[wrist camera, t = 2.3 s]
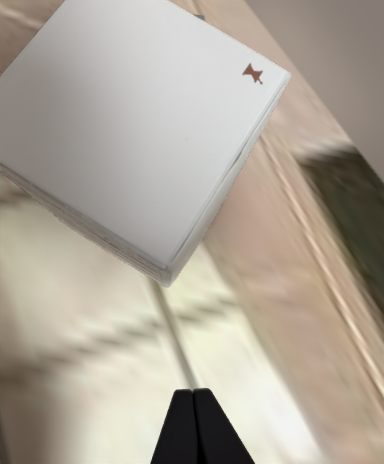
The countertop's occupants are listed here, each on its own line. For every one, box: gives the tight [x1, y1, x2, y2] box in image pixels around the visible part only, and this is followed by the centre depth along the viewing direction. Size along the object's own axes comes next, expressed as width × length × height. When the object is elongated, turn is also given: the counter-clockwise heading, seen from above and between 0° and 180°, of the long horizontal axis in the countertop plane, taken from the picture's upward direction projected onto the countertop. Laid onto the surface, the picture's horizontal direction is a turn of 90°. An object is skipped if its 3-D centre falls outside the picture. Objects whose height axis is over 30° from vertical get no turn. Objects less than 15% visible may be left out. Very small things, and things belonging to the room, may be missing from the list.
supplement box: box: [0, 0, 291, 288], centre depth 17 cm, size 7×7×13 cm
